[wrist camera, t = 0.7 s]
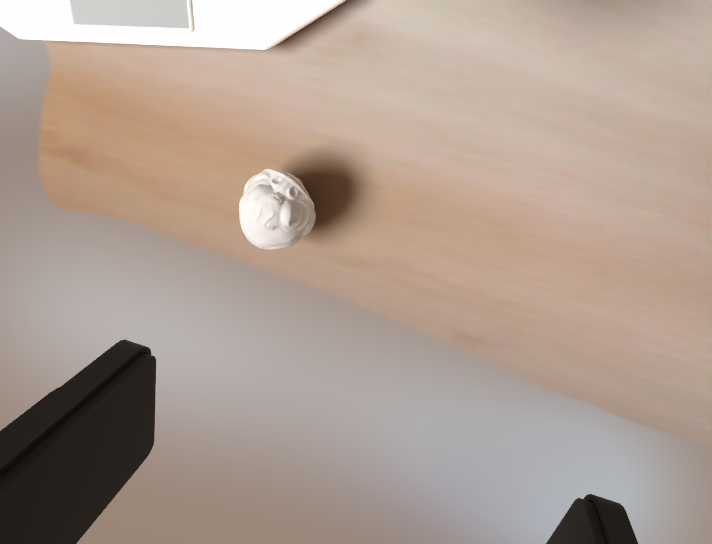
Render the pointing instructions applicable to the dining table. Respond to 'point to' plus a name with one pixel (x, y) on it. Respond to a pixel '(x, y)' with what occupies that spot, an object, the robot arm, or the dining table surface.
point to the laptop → (163, 21)
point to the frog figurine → (275, 210)
